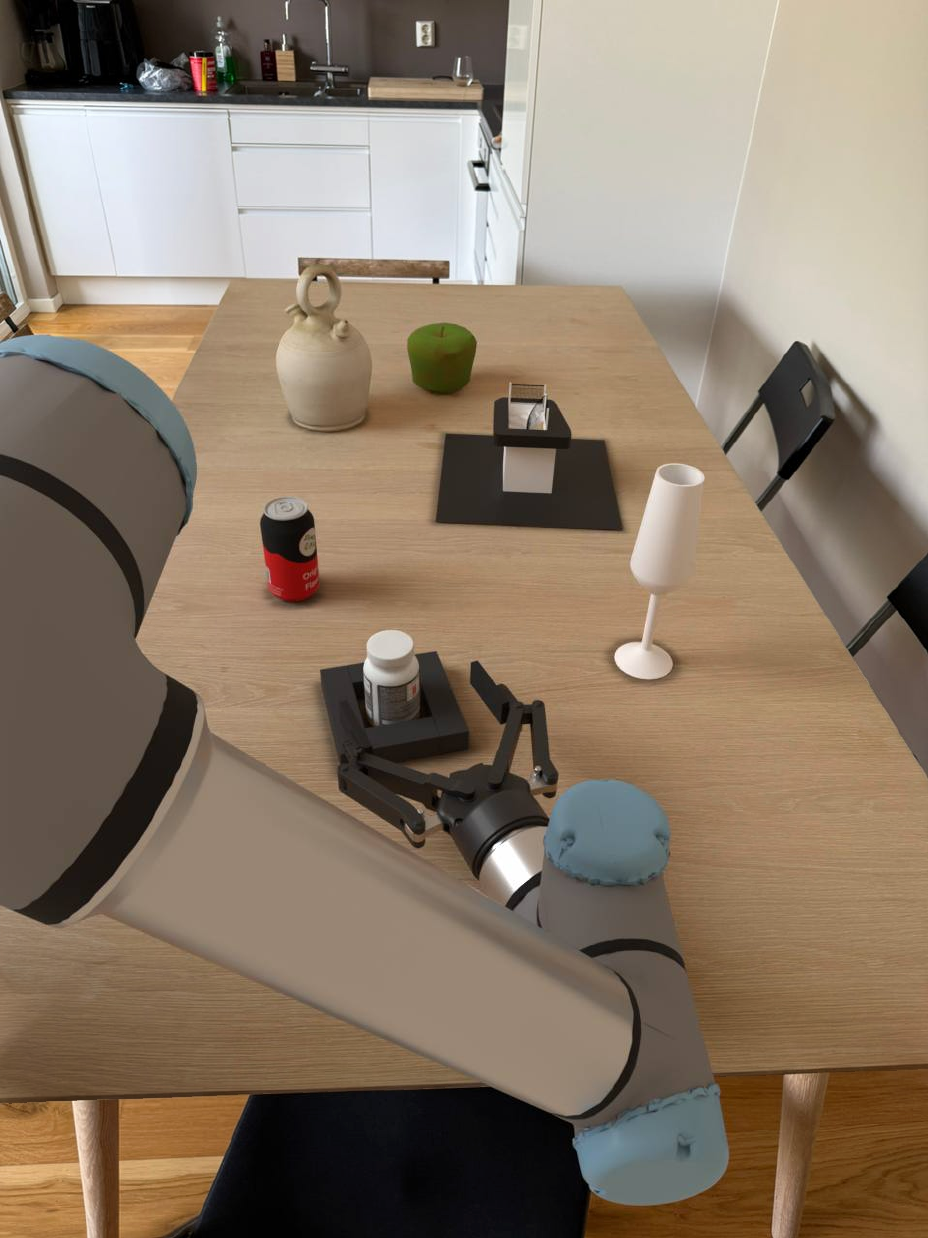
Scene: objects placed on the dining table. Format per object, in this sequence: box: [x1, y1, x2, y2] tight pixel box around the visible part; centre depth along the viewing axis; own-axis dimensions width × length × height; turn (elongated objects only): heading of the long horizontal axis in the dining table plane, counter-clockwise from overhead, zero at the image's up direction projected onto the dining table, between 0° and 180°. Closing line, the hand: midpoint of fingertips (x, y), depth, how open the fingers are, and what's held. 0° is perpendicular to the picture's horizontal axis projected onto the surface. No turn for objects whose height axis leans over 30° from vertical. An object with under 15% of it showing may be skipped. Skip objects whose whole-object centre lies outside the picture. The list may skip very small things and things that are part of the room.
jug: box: [275, 263, 373, 433], centre depth 143 cm, size 15×16×25 cm
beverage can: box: [259, 496, 321, 603], centre depth 108 cm, size 6×6×12 cm
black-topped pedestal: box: [435, 382, 623, 531], centre depth 132 cm, size 28×26×13 cm
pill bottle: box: [363, 629, 421, 727], centre depth 91 cm, size 6×6×10 cm
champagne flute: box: [614, 463, 705, 680], centre depth 95 cm, size 7×7×24 cm
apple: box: [406, 322, 478, 396], centre depth 159 cm, size 12×12×11 cm
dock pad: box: [319, 650, 470, 765], centre depth 93 cm, size 13×13×2 cm
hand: (410, 690), depth 85 cm, fingers open, 13 cm apart
